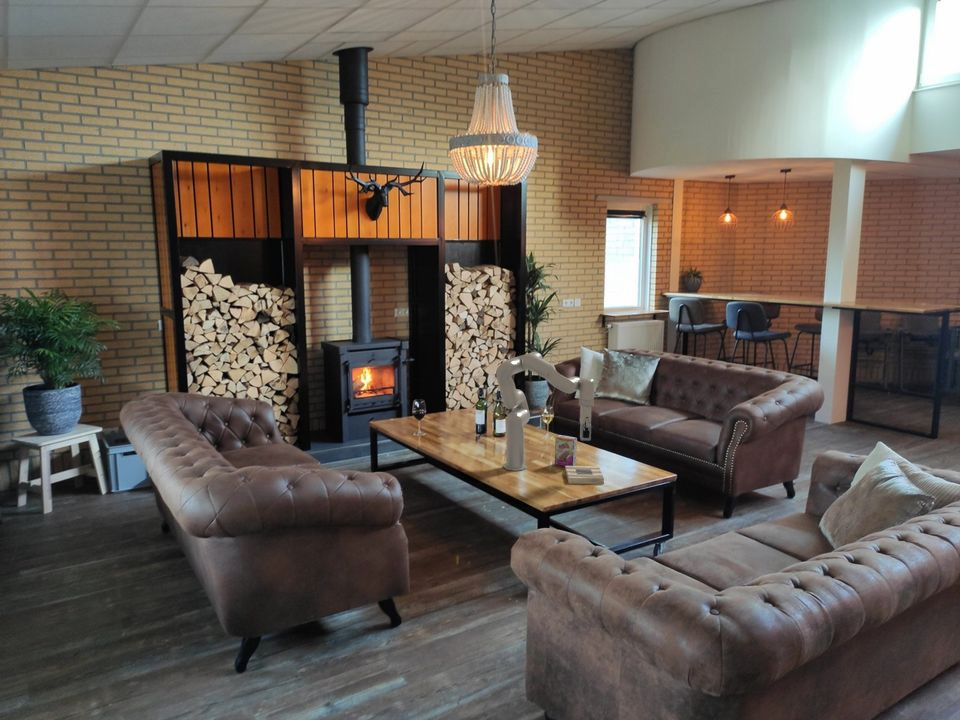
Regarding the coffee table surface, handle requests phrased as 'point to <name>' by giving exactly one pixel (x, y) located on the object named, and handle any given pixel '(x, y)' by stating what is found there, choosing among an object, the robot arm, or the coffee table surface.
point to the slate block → (582, 432)
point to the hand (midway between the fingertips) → (585, 436)
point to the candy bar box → (565, 450)
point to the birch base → (584, 474)
